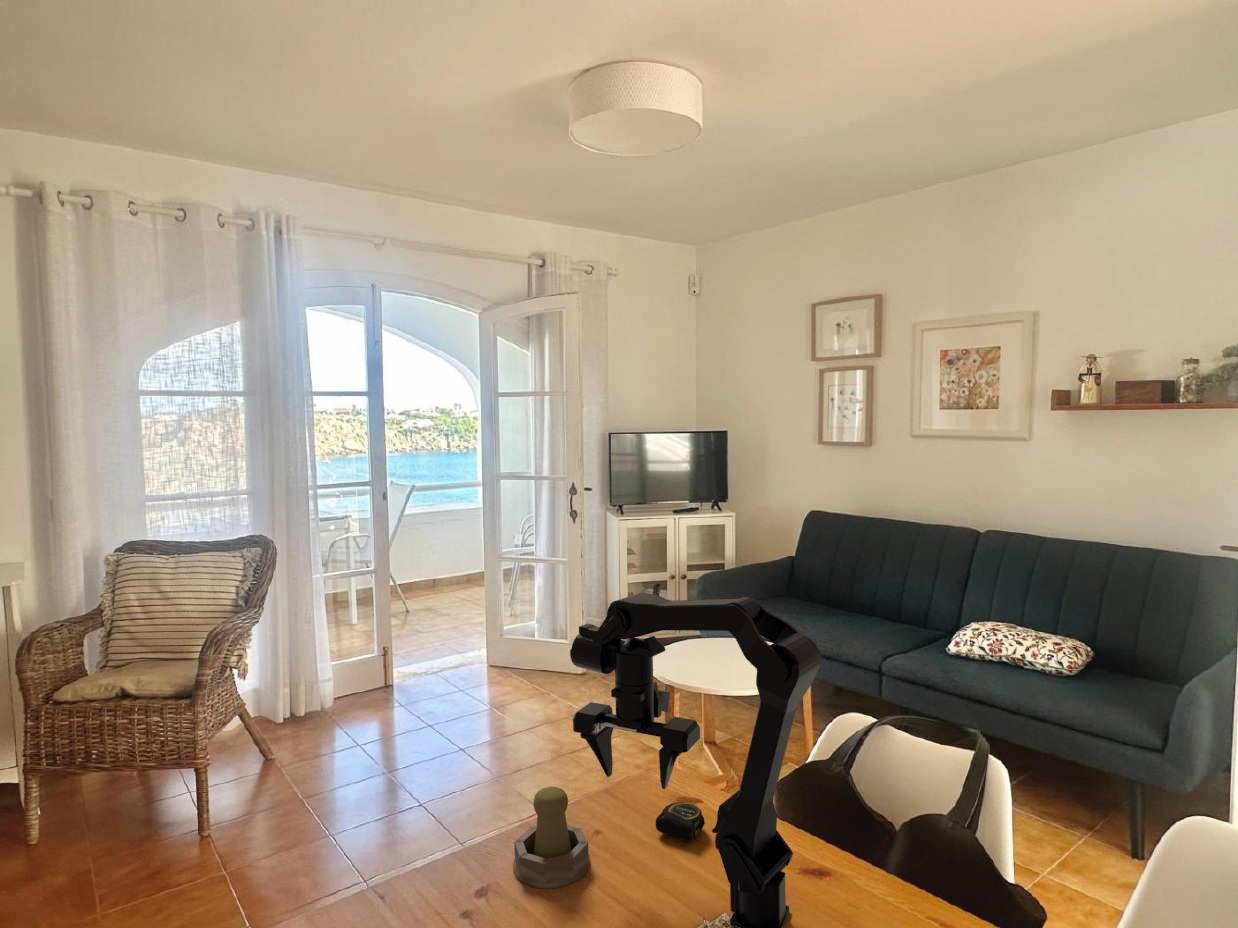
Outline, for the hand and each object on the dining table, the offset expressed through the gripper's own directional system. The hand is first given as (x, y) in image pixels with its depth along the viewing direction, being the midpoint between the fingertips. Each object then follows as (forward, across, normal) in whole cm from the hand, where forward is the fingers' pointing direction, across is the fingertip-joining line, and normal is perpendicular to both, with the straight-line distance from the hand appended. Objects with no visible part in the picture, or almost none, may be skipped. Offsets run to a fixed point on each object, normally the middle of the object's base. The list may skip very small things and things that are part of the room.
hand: (636, 781), depth 113 cm
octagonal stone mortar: (+13, +12, +6) cm, 19 cm away
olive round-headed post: (+13, +12, +5) cm, 18 cm away
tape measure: (+13, -3, -10) cm, 17 cm away
